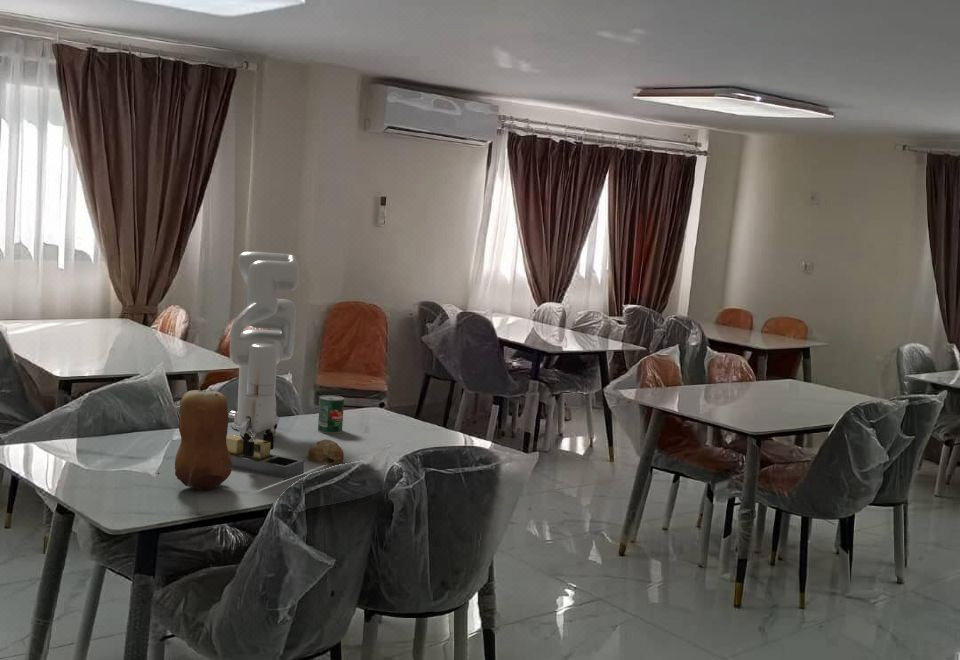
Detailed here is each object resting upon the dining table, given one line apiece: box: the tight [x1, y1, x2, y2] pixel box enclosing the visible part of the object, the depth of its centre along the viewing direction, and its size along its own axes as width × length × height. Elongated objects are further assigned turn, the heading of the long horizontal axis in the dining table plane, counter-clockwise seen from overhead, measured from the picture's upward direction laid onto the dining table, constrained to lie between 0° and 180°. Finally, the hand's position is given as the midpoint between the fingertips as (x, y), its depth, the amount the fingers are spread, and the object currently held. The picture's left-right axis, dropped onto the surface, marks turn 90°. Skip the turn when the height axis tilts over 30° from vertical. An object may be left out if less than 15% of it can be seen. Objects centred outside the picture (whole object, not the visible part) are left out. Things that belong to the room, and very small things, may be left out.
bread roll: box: [307, 439, 345, 466], centre depth 280 cm, size 10×10×8 cm
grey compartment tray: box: [230, 453, 305, 481], centre depth 267 cm, size 24×8×4 cm, turn 66°
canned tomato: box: [317, 394, 345, 435], centre depth 316 cm, size 8×8×11 cm
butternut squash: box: [174, 389, 232, 491], centre depth 244 cm, size 14×13×25 cm
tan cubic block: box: [246, 438, 271, 461], centre depth 267 cm, size 4×4×7 cm
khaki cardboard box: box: [226, 434, 243, 456], centre depth 269 cm, size 4×4×7 cm
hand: (258, 451), depth 267 cm, fingers open, 8 cm apart
